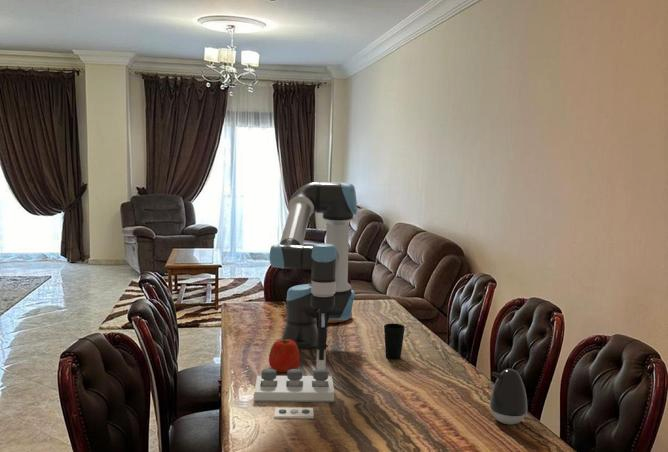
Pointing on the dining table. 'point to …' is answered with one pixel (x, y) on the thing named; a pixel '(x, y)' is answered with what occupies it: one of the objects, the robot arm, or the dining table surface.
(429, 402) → the dining table surface
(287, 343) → the apple
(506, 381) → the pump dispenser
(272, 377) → the button
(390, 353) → the cup
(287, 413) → the pattern card
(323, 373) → the button
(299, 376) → the button
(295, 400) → the board
